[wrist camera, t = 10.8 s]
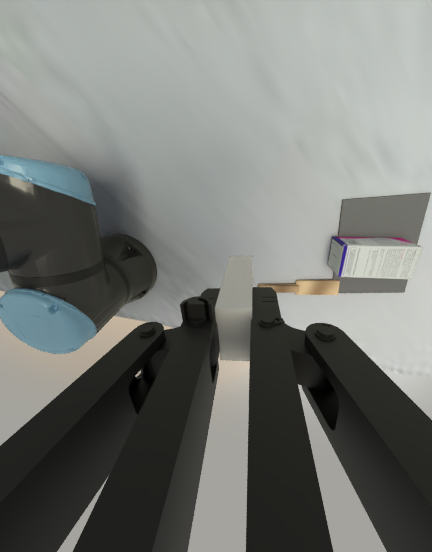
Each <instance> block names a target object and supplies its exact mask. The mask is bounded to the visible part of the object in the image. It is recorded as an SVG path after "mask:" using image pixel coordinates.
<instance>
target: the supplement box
mask: <svg viewBox="0 0 432 552" xmlns="http://www.w3.org/2000/svg"><path fill="white" fill-rule="evenodd" d="M422 249H423V247H422V246H419V245H417V244H415V243H412V242H410V241H408V240H405V239H403V238H377V237H332V243H331V250H330V255H329V261H328V266H329V267H331V269H332V270H333V271H334V272H335V273H336V275H337V276H338V277H356V278H386V279H411V278H412V275H413V272H414V270H415V267H416V264H417V261H418V259H419V256H420V254H421V251H422Z"/></svg>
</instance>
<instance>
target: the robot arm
mask: <svg viewBox="0 0 432 552" xmlns="http://www.w3.org/2000/svg"><path fill="white" fill-rule="evenodd" d="M95 206H96V203H95V202H94V200H93V196H92V191H91V187H90V183H89V180H88V178H87V177H86V175H85V174H84V173H83V172H81V171H80V170H78V169H76V168H73V167H69V166H64V165H60V164H55V163H50V162H44V161H39V160H33V159H27V158H20V157H13V156H3V155H0V272H4V271H8V272H9V275H10V277H11V280H12V283H13V286H14V289H11V290H9V291H7V292H5V294H4V295H3V296H2V297H1V298H0V319H1V320H2V322H3V324H4V325H5V326H6V328H7V329H8V330H9V331H10V332H11V333H12V334H13V335H15V336H16V337H17V338H18V339H20V340H21V341H23V342H24V343H26V344H28V345H29V346H31V347H33V348H36V349H38V350H41V351H44V352H48V353H53V354H66V353H71V352H73V351H75V350H77V349H79V348H80V347H81V346H83V345H84V344H85V343H86V342H87V341H88V340H90V339H92V338H93V337H94V336H95V335H96V334H97V333H98V332H99V330H100V329H101V328H102V327H103V326H104V325H105V324H106V323H107V322H108V321H109V320H110V319H111V318H112V317H113V316H114V315H115V314H116V313H117V312H118V311H119V310H120V309H121V308H122V306H123V305H125V304H127V303H130V302H133V301H135V300H138V299H140V298H142V297H143V296H145V295H146V294H147V293H148V292H149V291H150V290H151V288H152V287H153V285H154V283H155V281H156V276H157V270H156V264H155V261H154V259H153V257H152V255H151V253H150V252H149V251H148V249H147V248H146V247H145V246H144V245H143V244H142V243H140V242H139V241H138V240H136V239H134V238H132V237H130V236H127V235H122V234H113V235H109V236H106V237H104V238H101V237H100V231H99V225H98V219H97V213H96V208H95ZM180 307H181V313H182V318H183V322H182V324H181V326H180V327H177V328H173V329H168V330H164V327H163V325H162V324H161V323H158V322H149V323H145V324H142V325H140V326H138V327H137V328H135V329H134V330H133V331H132V332H130V333H129V334H128V335H127V336H126V337H125V338H124V339H122V340H121V341H120V342H119V343H118V344H117V345H116V346H114V347H113V348H112V349H111V350H110V351H109V352H108V353H106V354H105V355H104V356H103V357H102V358H101V359H100V360H98V361H97V362H96V363H95V364H94V365H93V366H91V367H90V368H89V369H88V370H87V371H86V372H85V373H83V374H82V375H81V376H80V377H79V378H78V379H77V380H75V381H74V382H73V383H72V384H71V385H70V386H69V387H67V388H66V389H65V390H64V391H63V392H62V393H60V394H59V395H58V396H57V397H56V398H55V399H54V400H52V401H51V402H50V403H49V404H48V405H47V406H46V407H44V408H43V409H42V410H41V411H40V412H39V413H38V414H36V415H35V416H34V417H33V418H32V419H31V420H30V421H29V422H27V423H26V424H25V425H24V426H23V427H21V428H20V429H19V430H18V431H17V432H16V433H15V434H13V435H12V436H11V437H10V438H9V439H8V440H7V441H6V442H4V443H3V444H2V445H1V446H0V552H57V551H58V549H59V548H60V546H61V545H62V543H63V542H64V540H65V539H66V537H67V536H68V535H69V533H70V531H71V530H72V528H73V527H74V525H75V524H76V523H77V521H78V520H79V518H80V517H81V515H82V514H83V513H84V511H85V509H86V508H87V507H88V505H89V504H90V502H91V501H92V499H93V498H94V496H95V495H96V493H97V492H98V490H99V489H100V488H101V486H102V484H103V483H104V482H105V480H106V479H107V477H108V476H109V477H108V479H107V481H106V483H105V485H104V487H103V489H102V492H101V494H100V496H99V498H98V500H97V502H96V504H95V506H94V508H93V511H92V512H91V515H90V517H89V519H88V521H87V523H86V525H85V527H84V529H83V531H82V533H81V535H80V538H79V540H78V542H77V544H76V546H75V548H74V550H73V552H187V551H188V545H189V539H190V533H191V527H192V521H193V516H194V510H195V504H196V499H197V493H198V487H199V481H200V475H201V470H202V464H203V458H204V452H205V446H206V441H207V435H208V429H209V423H210V418H211V412H212V406H213V400H214V394H215V389H216V383H217V377H218V371H219V365H218V357H219V353H220V360H233V361H250V380H249V429H248V479H247V528H246V530H247V531H246V552H333V548H332V544H331V539H330V535H329V530H328V525H327V520H326V515H325V511H324V506H323V501H322V496H321V492H320V487H319V482H318V478H317V473H316V468H315V464H314V459H313V454H312V449H311V444H310V440H309V435H308V430H307V426H306V422H305V416H304V412H303V407H302V402H301V397H300V393H299V389H298V384H299V385H302V389H303V391H304V393H305V395H306V397H307V399H308V401H309V403H310V404H311V407H312V408H313V410H314V412H315V414H316V416H317V418H318V420H319V422H320V424H321V426H322V428H323V430H324V432H325V433H326V435H327V437H328V439H329V441H330V443H331V445H332V447H333V448H334V450H335V453H336V455H337V456H338V458H339V460H340V462H341V464H342V466H343V468H344V469H345V472H346V474H347V476H348V477H349V480H350V481H351V483H352V485H353V487H354V489H355V491H356V493H357V495H358V497H359V499H360V501H361V503H362V505H363V506H364V508H365V510H366V512H367V514H368V516H369V518H370V520H371V522H372V524H373V526H374V528H375V529H376V531H377V533H378V535H379V537H380V539H381V541H382V543H383V545H384V547H385V549H386V551H387V552H432V420H431V419H430V418H429V417H428V416H427V415H426V414H425V413H424V412H423V411H422V410H421V409H420V408H419V407H418V406H417V405H416V404H415V403H414V402H413V401H412V400H411V399H410V398H409V397H408V396H407V395H406V394H405V393H404V392H403V391H402V390H401V389H400V388H399V387H398V386H397V385H396V384H395V383H394V382H393V381H392V380H391V379H390V378H389V377H388V376H387V375H386V374H385V373H384V372H383V371H382V370H381V369H380V368H379V367H378V366H377V365H376V364H375V363H374V362H373V361H372V360H371V359H370V358H369V357H368V356H367V355H366V354H365V353H364V352H363V351H362V350H361V349H360V348H359V347H358V346H357V345H356V344H355V343H354V342H353V341H352V340H351V339H350V338H349V337H348V336H347V335H346V334H345V333H344V332H343V331H342V330H341V329H339V328H338V327H336V326H333V325H331V324H326V323H315V324H311V325H309V326H308V327H307V328H306V331H303V330H298V329H295V328H292V327H290V326H288V325H286V324H285V322H284V320H283V318H281V315H280V310H279V305H278V300H277V295H276V291H275V290H274V289H273V288H272V287H253V264H252V256H231V257H229V261H228V264H227V268H226V271H225V275H224V278H223V281H222V285H221V288H220V289H206V290H205V291H204V292H203V293H202V294H201V296H200V297H192V298H189V299H186V300H184V301H183V302H182V303H181V304H180ZM140 370H141V374H140V375H139V376H137V377H135V375H136V374H137V373H138V372H139V371H140ZM109 474H110V475H109Z"/></svg>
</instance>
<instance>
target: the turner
mask: <svg viewBox="0 0 432 552" xmlns="http://www.w3.org/2000/svg"><path fill="white" fill-rule="evenodd" d="M339 284H340V281H339V280H296V284H259V285H258V287H272V288H273V289H274V290H275V291H276V292H295V294H296V295H338V291H339Z"/></svg>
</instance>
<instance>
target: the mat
mask: <svg viewBox="0 0 432 552" xmlns="http://www.w3.org/2000/svg"><path fill="white" fill-rule="evenodd" d="M430 194H431V193H422V194H409V195H396V196H383V197H370V198H357V199H344V200H342V207H341V215H340V223H339V231H338V237H377V238H403V239H405V240H408V241H410V242H412V243H415V244H417V243H418V239H419V235H420V232H421V228H422V224H423V220H424V217H425V213H426V209H427V205H428V201H429V198H430ZM333 280H339V281H340V284H339V291H338V293H398V292H405V288H406V284H407V281H408V279H386V278H356V277H338V276H337V275H336V273H335V272H333Z"/></svg>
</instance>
